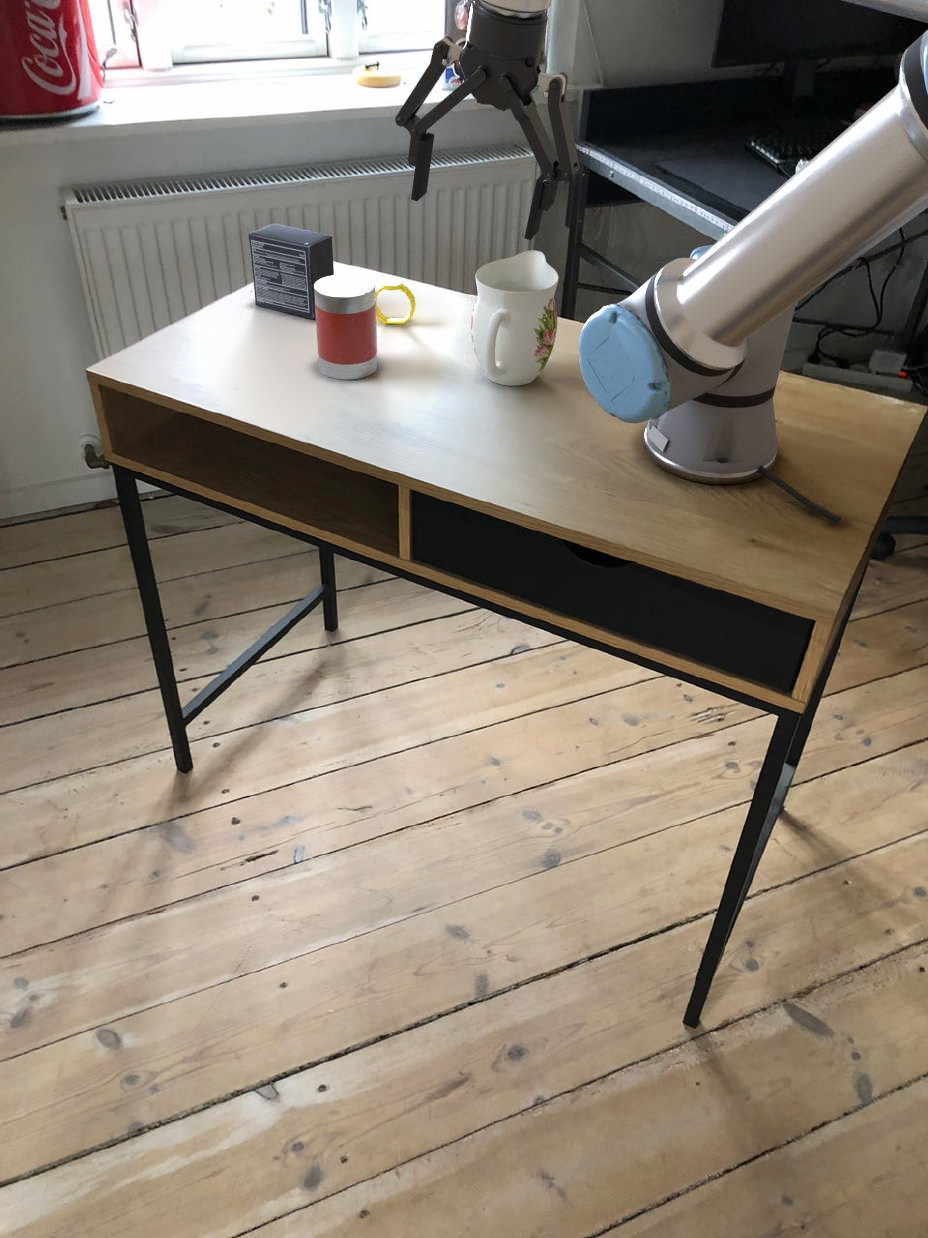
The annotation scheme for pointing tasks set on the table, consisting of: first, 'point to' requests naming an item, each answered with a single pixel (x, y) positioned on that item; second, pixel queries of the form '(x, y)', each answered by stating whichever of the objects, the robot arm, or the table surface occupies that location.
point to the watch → (395, 285)
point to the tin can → (346, 326)
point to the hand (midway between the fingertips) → (474, 215)
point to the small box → (289, 267)
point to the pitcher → (515, 317)
